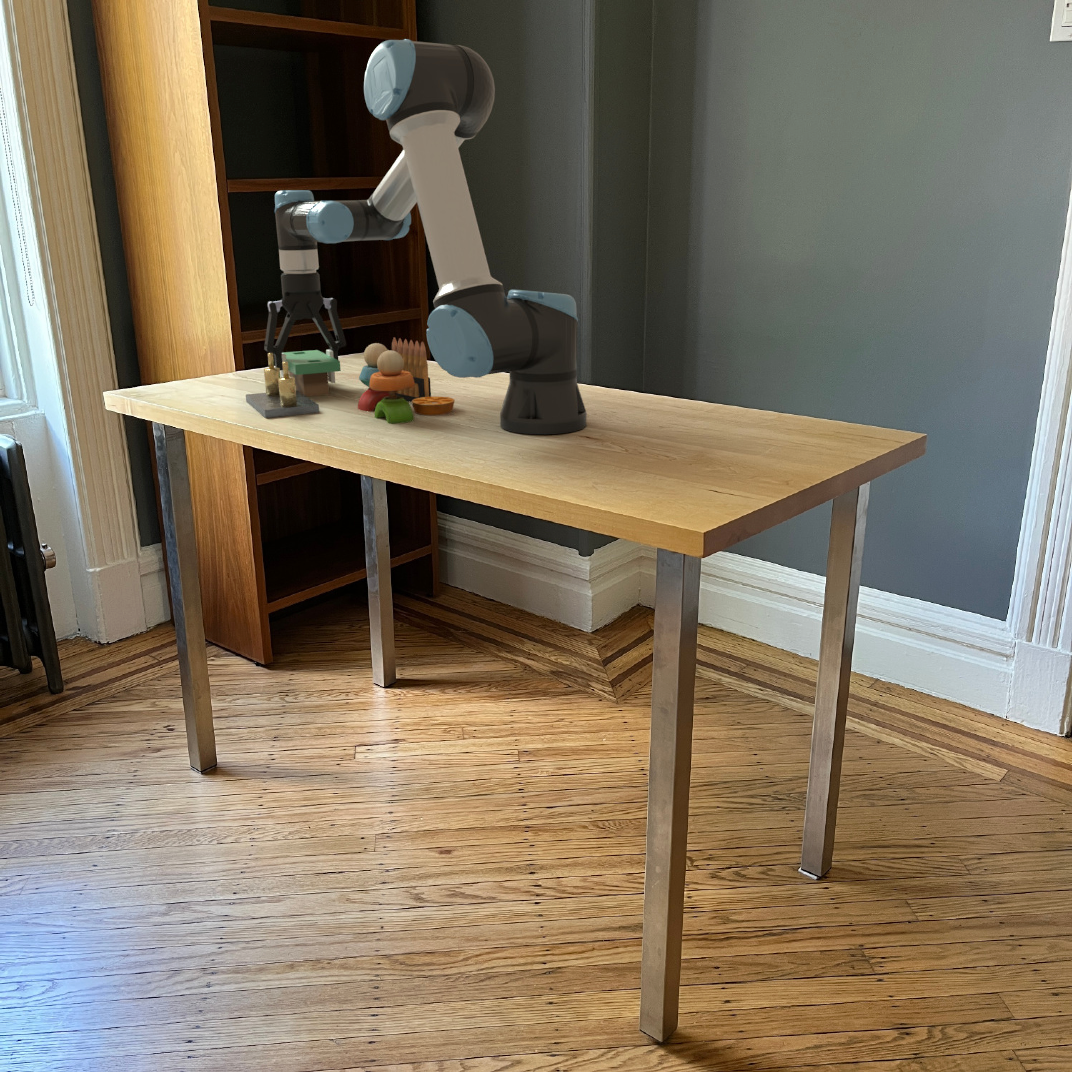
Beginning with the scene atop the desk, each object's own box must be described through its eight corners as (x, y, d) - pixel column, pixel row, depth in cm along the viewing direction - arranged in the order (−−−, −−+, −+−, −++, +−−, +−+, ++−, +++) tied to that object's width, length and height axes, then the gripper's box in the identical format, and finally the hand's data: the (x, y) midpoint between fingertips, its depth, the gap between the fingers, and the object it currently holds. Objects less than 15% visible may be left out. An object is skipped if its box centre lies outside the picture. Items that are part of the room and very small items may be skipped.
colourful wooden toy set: (466, 413, 194) (464, 345, 190) (385, 426, 184) (381, 355, 180) (417, 398, 208) (414, 335, 204) (338, 410, 198) (333, 343, 194)
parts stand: (329, 394, 212) (327, 370, 210) (304, 397, 210) (302, 372, 208) (313, 385, 222) (311, 361, 220) (290, 387, 220) (288, 363, 218)
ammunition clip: (432, 404, 202) (429, 341, 198) (424, 405, 201) (421, 342, 197) (398, 396, 209) (395, 336, 205) (390, 398, 208) (387, 337, 204)
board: (340, 371, 209) (339, 361, 208) (295, 374, 205) (295, 364, 204) (318, 359, 223) (317, 350, 223) (275, 362, 220) (275, 353, 219)
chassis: (319, 412, 195) (315, 361, 192) (265, 418, 191) (260, 366, 188) (296, 397, 209) (292, 349, 206) (246, 402, 205) (241, 353, 202)
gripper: (347, 268, 216) (354, 376, 223) (240, 272, 207) (251, 385, 214) (358, 270, 209) (365, 382, 217) (248, 275, 200) (259, 391, 208)
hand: (308, 383), depth 215 cm, fingers closed on board, 9 cm apart
